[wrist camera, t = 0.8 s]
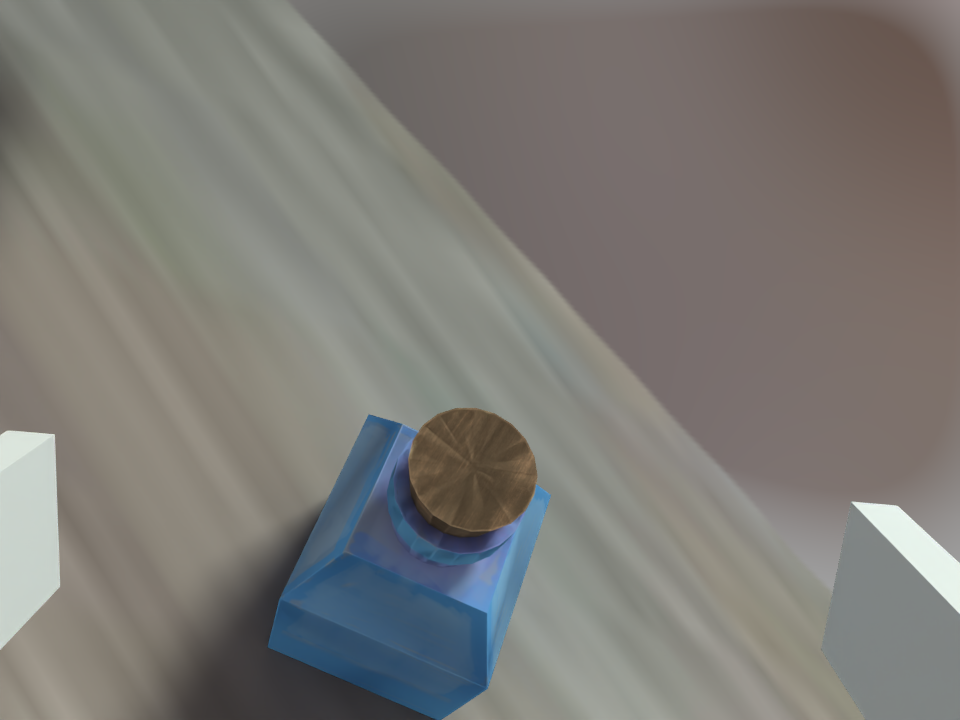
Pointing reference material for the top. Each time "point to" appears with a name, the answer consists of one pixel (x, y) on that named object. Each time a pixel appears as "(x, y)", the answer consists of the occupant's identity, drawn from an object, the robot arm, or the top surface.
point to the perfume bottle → (417, 560)
